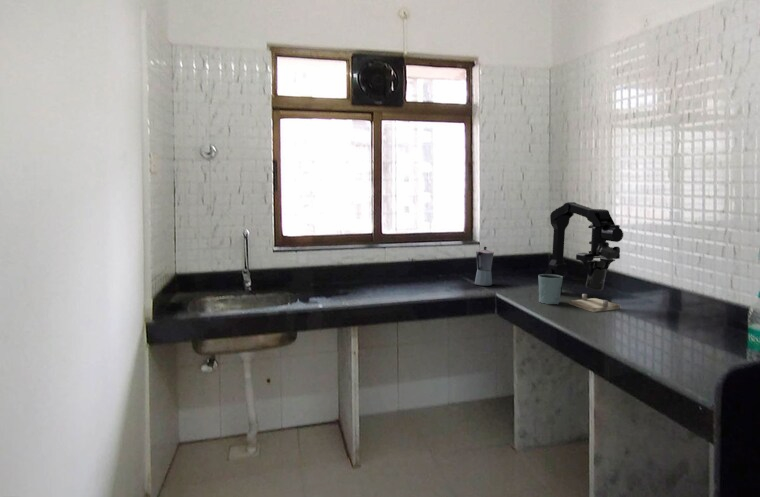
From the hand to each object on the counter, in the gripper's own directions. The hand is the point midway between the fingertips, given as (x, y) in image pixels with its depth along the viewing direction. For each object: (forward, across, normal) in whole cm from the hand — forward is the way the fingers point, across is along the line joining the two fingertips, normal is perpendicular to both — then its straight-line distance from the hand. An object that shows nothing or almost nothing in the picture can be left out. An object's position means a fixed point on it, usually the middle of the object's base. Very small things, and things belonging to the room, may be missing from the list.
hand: (597, 276), depth 209 cm
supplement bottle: (+6, -1, 0) cm, 6 cm away
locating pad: (+13, -1, 0) cm, 13 cm away
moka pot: (+13, -20, +57) cm, 62 cm away
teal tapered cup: (+13, -14, +13) cm, 23 cm away
